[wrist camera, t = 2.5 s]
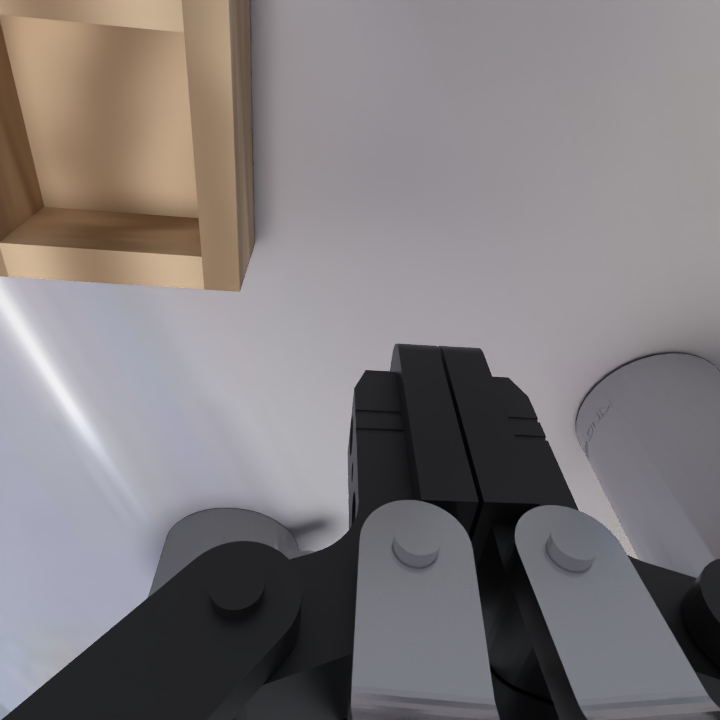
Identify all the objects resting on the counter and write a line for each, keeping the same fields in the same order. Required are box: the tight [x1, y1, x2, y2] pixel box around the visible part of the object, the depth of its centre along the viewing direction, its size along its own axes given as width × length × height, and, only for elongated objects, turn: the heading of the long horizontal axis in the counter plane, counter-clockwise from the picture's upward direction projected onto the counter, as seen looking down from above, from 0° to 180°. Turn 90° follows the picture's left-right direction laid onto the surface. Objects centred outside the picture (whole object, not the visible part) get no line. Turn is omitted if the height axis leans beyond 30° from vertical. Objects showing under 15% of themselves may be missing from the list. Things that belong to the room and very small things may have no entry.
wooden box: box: [0, 0, 255, 292], centre depth 22 cm, size 11×11×5 cm
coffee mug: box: [148, 508, 314, 597], centre depth 38 cm, size 13×10×10 cm
